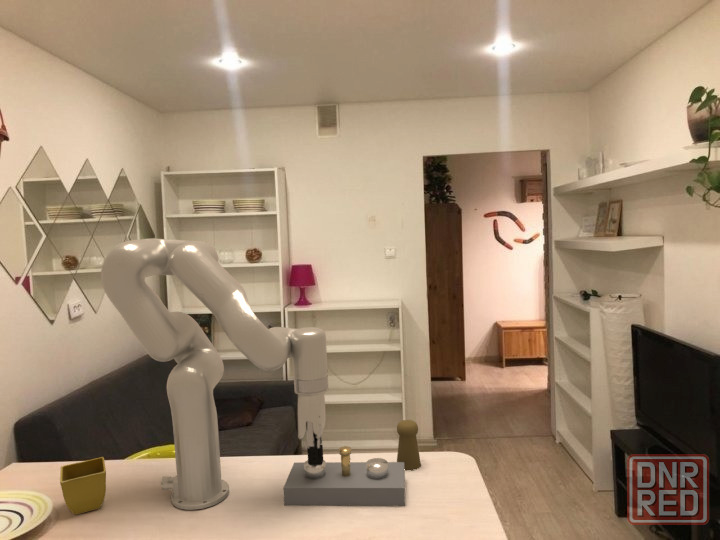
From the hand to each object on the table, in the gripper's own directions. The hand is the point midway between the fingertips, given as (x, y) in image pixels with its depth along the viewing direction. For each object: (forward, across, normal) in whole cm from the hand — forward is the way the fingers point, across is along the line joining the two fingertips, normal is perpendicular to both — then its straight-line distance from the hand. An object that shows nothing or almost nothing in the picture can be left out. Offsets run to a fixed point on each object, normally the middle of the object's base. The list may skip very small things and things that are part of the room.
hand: (315, 463), depth 123 cm
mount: (+7, 0, +7) cm, 10 cm away
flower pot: (+7, +7, -50) cm, 51 cm away
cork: (+7, -13, +21) cm, 25 cm away
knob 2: (+6, 0, +14) cm, 15 cm away
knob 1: (+6, 0, 0) cm, 6 cm away
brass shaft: (+3, 0, +7) cm, 7 cm away
